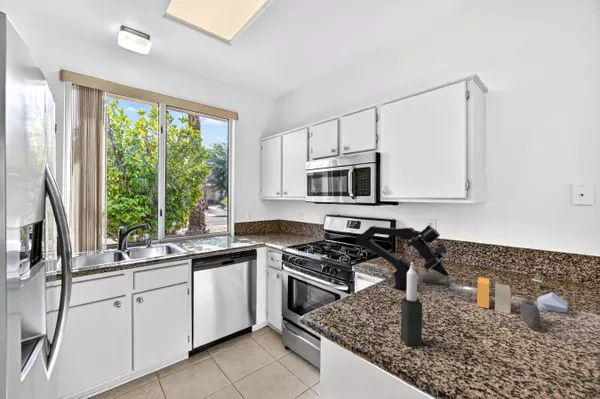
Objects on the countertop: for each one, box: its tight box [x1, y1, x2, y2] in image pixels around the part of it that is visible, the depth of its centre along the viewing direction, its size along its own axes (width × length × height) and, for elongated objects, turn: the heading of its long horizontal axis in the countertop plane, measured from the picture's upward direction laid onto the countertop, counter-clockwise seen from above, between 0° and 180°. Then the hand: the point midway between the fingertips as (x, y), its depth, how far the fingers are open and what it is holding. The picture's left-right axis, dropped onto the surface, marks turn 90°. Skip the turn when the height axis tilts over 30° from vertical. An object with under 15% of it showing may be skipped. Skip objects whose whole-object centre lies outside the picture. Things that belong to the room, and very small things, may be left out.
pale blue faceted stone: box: [536, 291, 568, 313], centre depth 112 cm, size 9×7×13 cm
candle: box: [400, 261, 423, 347], centre depth 83 cm, size 5×5×25 cm
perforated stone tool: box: [519, 299, 541, 330], centre depth 97 cm, size 15×5×7 cm, turn 144°
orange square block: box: [476, 276, 490, 309], centre depth 115 cm, size 4×10×10 cm, turn 144°
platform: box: [531, 274, 544, 290], centre depth 141 cm, size 12×18×7 cm, turn 133°
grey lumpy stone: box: [417, 267, 454, 285], centre depth 147 cm, size 16×9×15 cm
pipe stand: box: [449, 282, 512, 314], centre depth 116 cm, size 22×13×9 cm, turn 54°
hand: (448, 275), depth 123 cm, fingers closed
